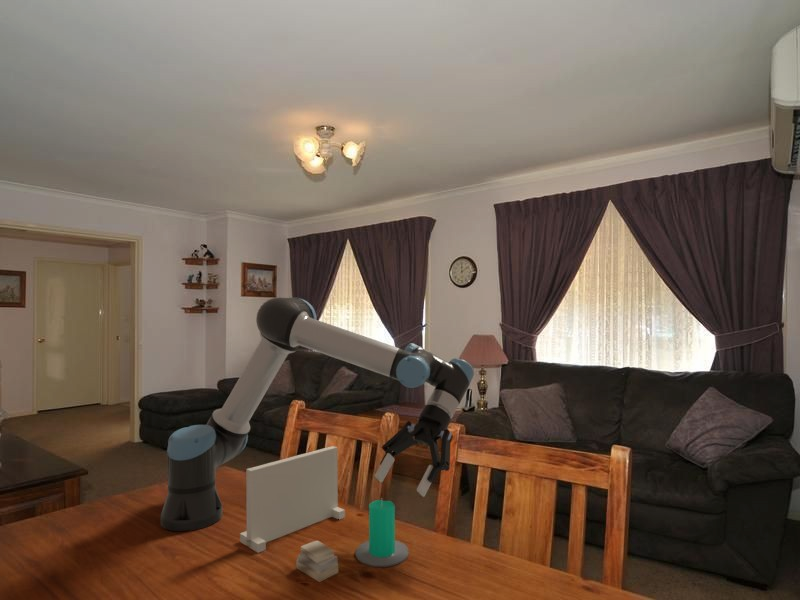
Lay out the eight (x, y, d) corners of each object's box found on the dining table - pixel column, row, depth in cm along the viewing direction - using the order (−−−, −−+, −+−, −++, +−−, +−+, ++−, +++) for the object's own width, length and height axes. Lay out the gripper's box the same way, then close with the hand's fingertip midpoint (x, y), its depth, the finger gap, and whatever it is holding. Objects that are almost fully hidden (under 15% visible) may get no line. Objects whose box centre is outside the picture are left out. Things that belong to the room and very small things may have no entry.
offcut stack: (294, 568, 110) (294, 547, 110) (315, 559, 114) (315, 539, 114) (318, 583, 104) (318, 561, 104) (339, 572, 108) (339, 551, 108)
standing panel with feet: (240, 541, 122) (239, 466, 122) (325, 509, 141) (325, 443, 141) (258, 552, 117) (257, 473, 117) (344, 517, 136) (344, 449, 136)
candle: (392, 558, 113) (391, 504, 113) (365, 555, 114) (365, 501, 114) (397, 545, 118) (397, 494, 118) (372, 543, 120) (372, 492, 120)
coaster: (344, 554, 116) (344, 551, 116) (382, 536, 125) (382, 533, 125) (381, 573, 108) (381, 570, 108) (419, 552, 116) (419, 550, 116)
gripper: (485, 428, 124) (447, 508, 113) (409, 413, 142) (370, 481, 131) (472, 410, 121) (432, 491, 110) (396, 397, 138) (354, 465, 127)
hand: (398, 486), depth 120 cm, fingers open, 13 cm apart
